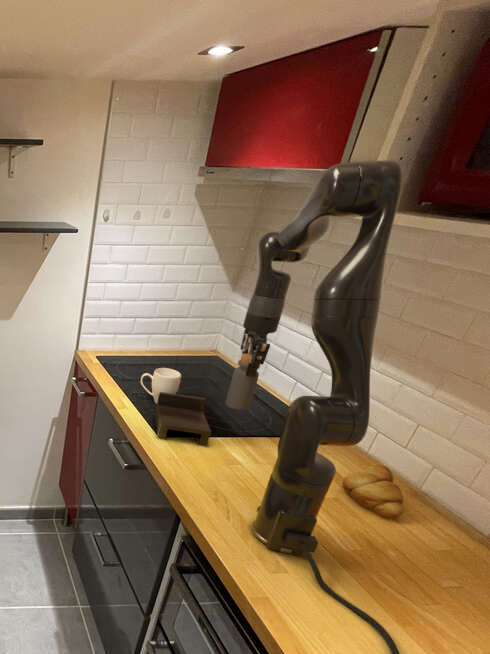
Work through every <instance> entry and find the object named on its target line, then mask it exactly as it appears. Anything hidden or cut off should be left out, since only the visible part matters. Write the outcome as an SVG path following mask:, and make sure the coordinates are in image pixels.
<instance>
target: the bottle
mask: <svg viewBox="0 0 490 654" xmlns="http://www.w3.org/2000/svg"><path fill="white" fill-rule="evenodd" d="M253 356H254V355H253ZM249 358H250V355H249V354H242V353H241V354H240V359H239V360H238V361H237V365H238V367H236V368H235V369H234V370H233V373H232V377H231V381H230V384H229V388H228V391H227V395H226V399H225V406H227V407H228V408H230V409H233V410H238V411H248V410H249V409H250V407H251V403H252V400H253V397H254V393H255V390H256V387H257V383H258V380H259V376H260V373H259V372H258V371H257V372H256V376H255V377H249V376H246V374H245V373H246V370H247V367H248V363H249ZM256 359H258V356H257V358H256ZM260 367H261V364H259V366H258V369H257V370H259V369H260Z"/></svg>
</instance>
